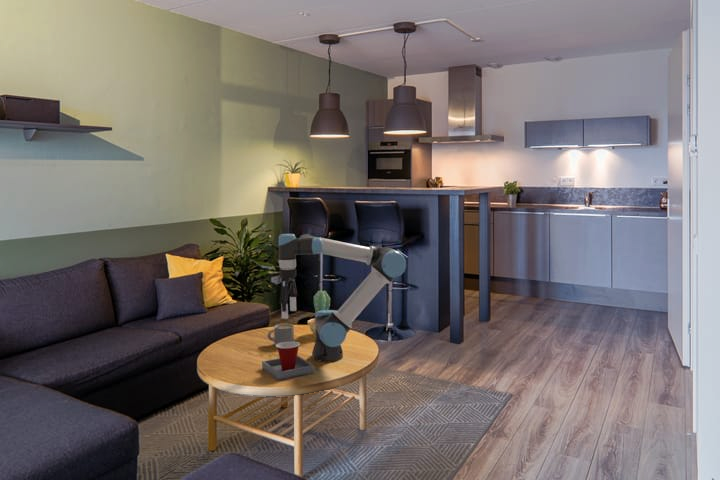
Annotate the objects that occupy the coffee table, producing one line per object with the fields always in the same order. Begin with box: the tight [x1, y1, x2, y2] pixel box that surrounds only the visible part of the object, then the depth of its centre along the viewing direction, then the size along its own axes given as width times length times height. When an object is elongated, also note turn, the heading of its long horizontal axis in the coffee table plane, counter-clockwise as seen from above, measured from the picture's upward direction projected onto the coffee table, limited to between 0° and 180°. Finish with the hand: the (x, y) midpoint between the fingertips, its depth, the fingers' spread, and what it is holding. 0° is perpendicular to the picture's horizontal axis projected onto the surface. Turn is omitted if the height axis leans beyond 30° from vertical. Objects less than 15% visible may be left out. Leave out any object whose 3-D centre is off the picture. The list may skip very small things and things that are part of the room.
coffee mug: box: [267, 323, 295, 347], centre depth 289 cm, size 13×10×10 cm
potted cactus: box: [307, 290, 331, 338], centre depth 306 cm, size 15×15×25 cm
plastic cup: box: [275, 341, 301, 371], centre depth 250 cm, size 11×11×12 cm
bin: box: [261, 354, 315, 381], centre depth 250 cm, size 18×18×4 cm
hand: (289, 314), depth 251 cm, fingers open, 13 cm apart
